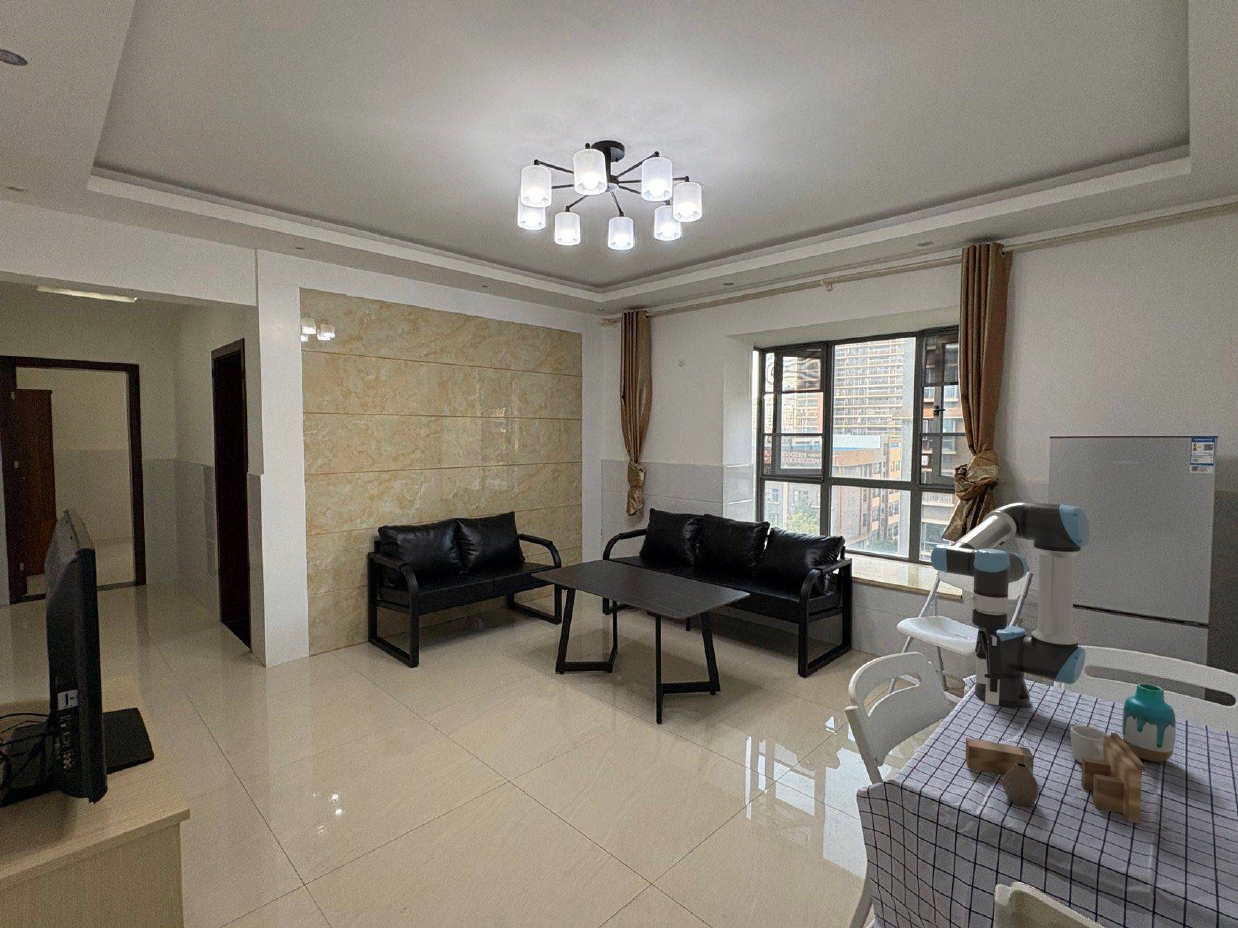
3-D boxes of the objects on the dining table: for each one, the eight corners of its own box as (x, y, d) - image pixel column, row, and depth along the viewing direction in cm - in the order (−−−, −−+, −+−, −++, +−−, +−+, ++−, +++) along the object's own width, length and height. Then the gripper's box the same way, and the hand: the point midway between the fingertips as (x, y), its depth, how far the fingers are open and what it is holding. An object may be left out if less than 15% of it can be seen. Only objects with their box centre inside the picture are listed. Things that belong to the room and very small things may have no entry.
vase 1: (1011, 808, 138) (1012, 771, 137) (996, 791, 144) (998, 755, 144) (1044, 811, 137) (1045, 774, 136) (1028, 793, 143) (1029, 757, 143)
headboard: (1077, 778, 150) (1079, 727, 149) (1114, 785, 147) (1117, 733, 147) (1100, 815, 135) (1103, 759, 135) (1143, 824, 132) (1145, 766, 132)
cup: (1121, 778, 150) (1123, 746, 150) (1085, 774, 152) (1086, 743, 151) (1096, 755, 161) (1098, 726, 160) (1063, 752, 162) (1064, 723, 162)
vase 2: (1169, 754, 161) (1172, 684, 161) (1178, 773, 153) (1181, 699, 152) (1118, 743, 167) (1121, 675, 166) (1123, 760, 158) (1127, 689, 158)
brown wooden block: (968, 768, 154) (968, 745, 154) (965, 759, 159) (966, 737, 158) (1032, 780, 149) (1033, 756, 149) (1028, 770, 153) (1028, 747, 153)
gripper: (965, 597, 166) (962, 673, 167) (981, 622, 143) (978, 710, 144) (996, 600, 163) (993, 677, 164) (1019, 626, 140) (1015, 715, 141)
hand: (986, 692), depth 154 cm, fingers open, 13 cm apart
